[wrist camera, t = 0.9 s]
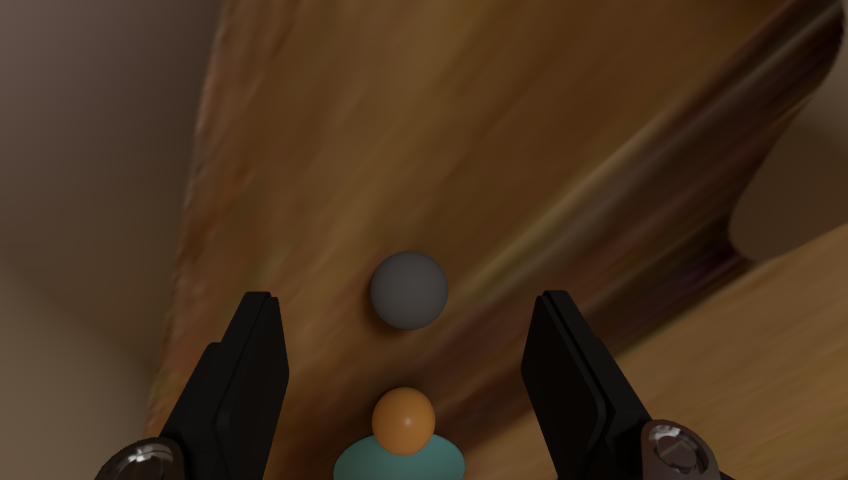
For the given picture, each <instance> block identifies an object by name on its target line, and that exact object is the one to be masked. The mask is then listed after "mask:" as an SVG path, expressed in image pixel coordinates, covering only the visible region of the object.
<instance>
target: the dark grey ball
mask: <svg viewBox="0 0 848 480" xmlns="http://www.w3.org/2000/svg"><path fill="white" fill-rule="evenodd" d="M447 297H448V284H447V280H446V277H445V274H444V272H443V270H442V269H441V267H440V266H439V265H438V264H437V263H436V262H435V261H434V260H433V259H432V258H430V257H428V256H427V255H424V254H422V253H419V252H413V251H405V252H400V253H396V254H394V255H392V256H390V257H388V258H387V259H385V260H384V261H383V262H382V263H381V264H380V265H379V266H378V268H377V269H376V271H375V272H374V275H373V277H372V280H371V284H370V298H371V302H372V305H373V307H374V309H375V311H376V313H377V314H378V315H379V316H380V318H381V319H382V320H383V321H385V322H386V323H387V324H389V325H391V326H393V327H395V328H398V329H403V330H414V329H419V328H422V327H425V326H427V325H429V324H430V323H432V322H433V321H434V320H435V319H436V318H437V317H438V316H439V315H440V314H441V312H442V311H443V309H444V307H445V304H446V301H447Z"/></svg>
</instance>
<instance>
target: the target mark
mask: <svg viewBox="0 0 848 480" xmlns="http://www.w3.org/2000/svg"><path fill="white" fill-rule="evenodd" d="M464 471H465V463H464V458H463V455H462V453H461V452H460V450H459V449H458V448H457V447H456V446H455V445H454V444H453V443H452V442H450V441H449V440H447V439H445V438H444V437H441V436H439V435H436V434H433V435H432V437H431V439H430V441H429V442H428V444H427V445H426V446H425V447H424V448H423V449H421V450H420V451H419V452H417V453H415V454H412V455H408V456H398V455H394V454H391V453H389V452H387V451H386V450H385V449H384V448H382V447H381V445H380V444H379V443H378V441H377V440H376V438H375V435H374V434H373V435H370V436H367V437H365V438H362V439H360V440H358V441H357V442H355V443H353V444H352V445H350V446H349V447H348V448H346V449H345V450H344V451H343V452H342V453H341V455H340V456H339V457H338V459H337V461H336V463H335V466H334V472H333V477H334V480H462V477H463V475H464Z"/></svg>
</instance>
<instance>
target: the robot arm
mask: <svg viewBox="0 0 848 480" xmlns="http://www.w3.org/2000/svg"><path fill="white" fill-rule="evenodd" d="M521 374H522V378H523V381H524V384H525V386H526V389H527V392H528V395H529V397H530V400H531V403H532V406H533V408H534V411H535V414H536V417H537V419H538V422H539V425H540V428H541V430H542V433H543V436H544V439H545V441H546V444H547V447H548V450H549V453H550V455H551V458H552V461H553V464H554V466H555V469H556V472H557V475H558V477H559V480H735V479H733V478H731V477H729V476H728V475H726V474H724V473H722V472H721V471H719V469H718V465H717V461H716V459H715V456H714V454H713V452H712V450H711V449H710V448H709V446H708V445H707V444H706V442H705V441H703V440H702V439H701V438H700V437H699V436H698V435H697V434H696V433H694V432H693V431H691V430H690V429H688V428H687V427H685V426H683V425H680V424H678V423H676V422H673V421H668V420H664V419H662V420H652V418H651V417H650V415H649V414H648V412H647V410H646V409H645V407H644V406H643V404H642V403H641V401H640V400H639V398H638V396H637V395H636V393H635V392H634V390H633V389H632V387H631V386H630V384H629V382H628V381H627V379H626V378H625V376H624V375H623V373H622V371H621V370H620V368H619V367H618V365H617V364H616V362H615V361H614V359H613V357H612V356H611V354H610V353H609V351H608V350H607V348H606V347H605V345H604V343H603V342H602V341H601V340H600V339H599V338H597V337H595V335H594V333H593V332H592V330H591V329H590V327H589V325H588V324H587V322H586V321H585V319H584V317H583V316H582V314H581V313H580V311H579V310H578V308H577V306H576V305H575V303H574V302H573V300H572V298H571V297H570V295H569V294H568V292H567V291H565V290H546V291H544V292H543V294H542V296H538V297H537V298H536V302H535V306H534V311H533V315H532V319H531V324H530V328H529V332H528V337H527V341H526V345H525V350H524V354H523V359H522V363H521ZM288 380H289V366H288V360H287V353H286V346H285V340H284V333H283V327H282V320H281V314H280V307H279V301H278V298H277V297H271V294H270V292H246V293H245V295H244V296H243V298H242V300H241V302H240V304H239V306H238V308H237V310H236V312H235V314H234V316H233V318H232V320H231V322H230V324H229V326H228V328H227V330H226V332H225V334H224V336H223V338H222V340H221V342H213V343H210V344H209V345H208V346H207V348H206V349H205V351H204V353H203V354H202V356H201V358H200V360H199V362H198V364H197V366H196V368H195V369H194V371H193V373H192V375H191V377H190V379H189V381H188V382H187V384H186V386H185V388H184V390H183V392H182V394H181V396H180V397H179V399H178V401H177V403H176V405H175V407H174V409H173V410H172V412H171V414H170V416H169V418H168V420H167V422H166V424H165V425H164V427H163V429H162V431H161V433H160V435H159V437H150V438H146V439H142V440H138V441H137V442H134V443H132V444H130V445H128V446H126V447H125V448H123V449H122V450H120V451H119V452H117V453H116V454H114V455H113V456H112V457H111V458H110V459H109V460H108V461H107V462H106V463H105V464H104V465H103V466H102V467H101V469H100V471H99V472H98V474H97V475H96V477H95V478H94V480H262V478H263V475H264V471H265V467H266V463H267V460H268V456H269V452H270V448H271V445H272V441H273V437H274V433H275V430H276V426H277V422H278V418H279V415H280V411H281V407H282V403H283V400H284V396H285V392H286V388H287V385H288Z"/></svg>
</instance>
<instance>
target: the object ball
mask: <svg viewBox="0 0 848 480" xmlns="http://www.w3.org/2000/svg"><path fill="white" fill-rule="evenodd" d="M372 428H373V433H374V435H375V438H376V440H377V441H378V443H379V444H380V445H381V447H382V448H384V449H385V450H386V451H387V452H389V453H391V454H394V455H398V456H408V455H412V454H415V453H417V452H419V451H420V450H421V449H423V448H424V447H425V446H426V445H427V444H428V442H429V441H430V439H431V437H432V435H433V432H434V428H435V414H434V410H433V407H432V405H431V403H430V401H429V400H428V398H427V397H426V396H425V395H424V394H423V393H421V392H420V391H418V390H416V389H414V388H410V387H399V388H395V389H392V390H390V391H389V392H387V393H386V394H384V395H383V396H382V397H381V398H380V400H379V401H378V403H377V404H376V406H375V409H374V412H373V416H372Z"/></svg>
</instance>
